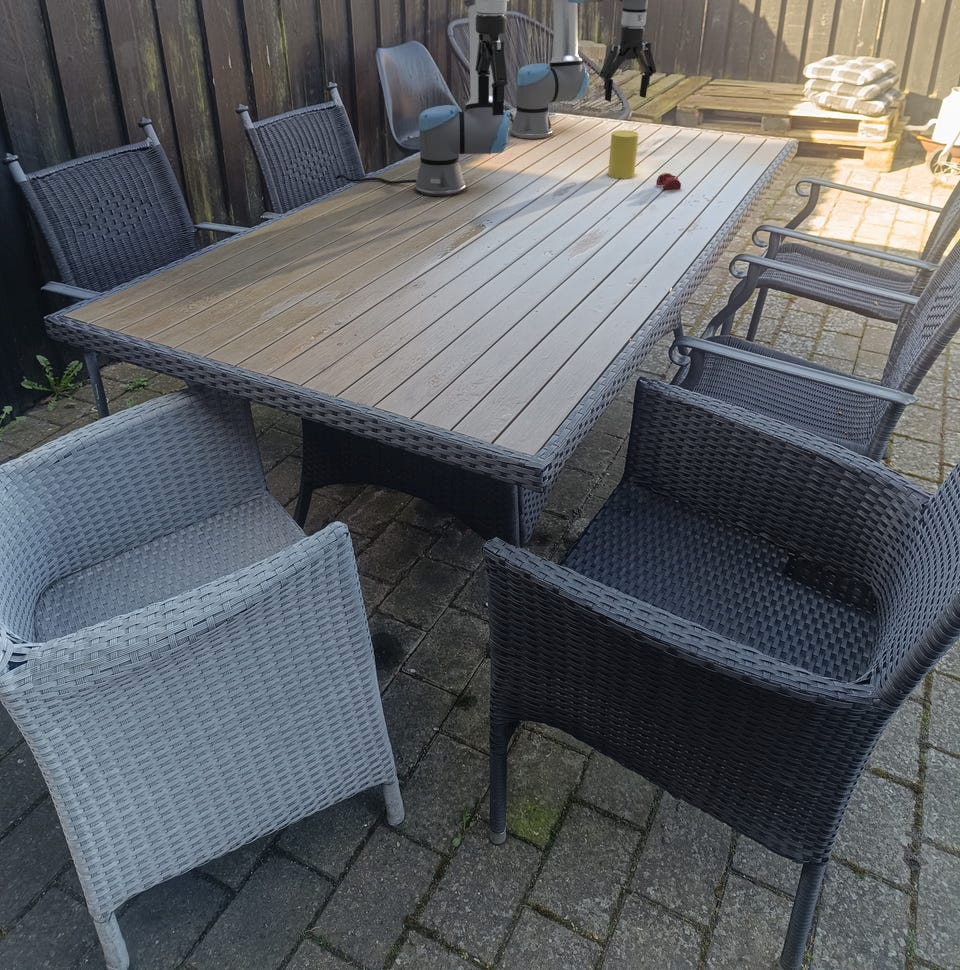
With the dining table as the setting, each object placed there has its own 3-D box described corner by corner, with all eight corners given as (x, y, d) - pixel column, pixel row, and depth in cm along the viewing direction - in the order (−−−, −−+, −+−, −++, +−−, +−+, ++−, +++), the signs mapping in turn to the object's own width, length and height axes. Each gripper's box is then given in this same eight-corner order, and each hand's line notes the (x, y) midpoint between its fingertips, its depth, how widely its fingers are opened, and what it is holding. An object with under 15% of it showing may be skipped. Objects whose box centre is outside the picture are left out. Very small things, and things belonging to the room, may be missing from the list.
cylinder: (604, 176, 270) (607, 134, 263) (614, 169, 276) (617, 129, 269) (628, 179, 267) (632, 138, 260) (638, 173, 273) (642, 132, 266)
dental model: (672, 169, 261) (683, 176, 255) (671, 183, 263) (682, 190, 257) (655, 171, 260) (666, 178, 254) (654, 185, 262) (665, 192, 256)
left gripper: (521, 20, 193) (519, 119, 205) (492, 7, 212) (491, 98, 225) (490, 21, 191) (489, 120, 204) (463, 8, 211) (464, 99, 223)
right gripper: (605, 30, 259) (598, 104, 271) (672, 25, 267) (663, 97, 280) (592, 26, 264) (586, 99, 277) (659, 22, 272) (650, 93, 285)
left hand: (490, 109), depth 214 cm, fingers open, 13 cm apart
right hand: (625, 98), depth 278 cm, fingers open, 13 cm apart
